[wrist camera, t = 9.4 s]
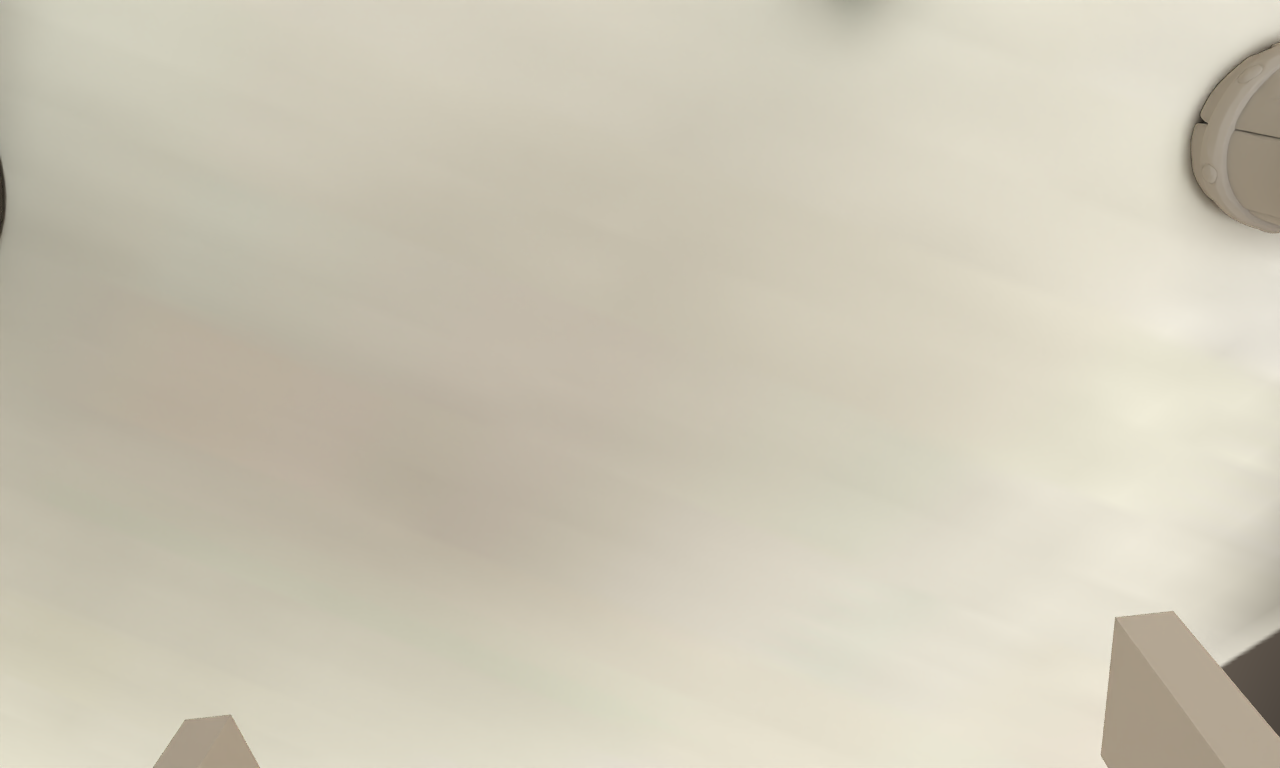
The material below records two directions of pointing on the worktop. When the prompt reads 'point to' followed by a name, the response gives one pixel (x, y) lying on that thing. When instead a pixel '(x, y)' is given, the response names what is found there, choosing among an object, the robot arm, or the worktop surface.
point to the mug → (1243, 143)
